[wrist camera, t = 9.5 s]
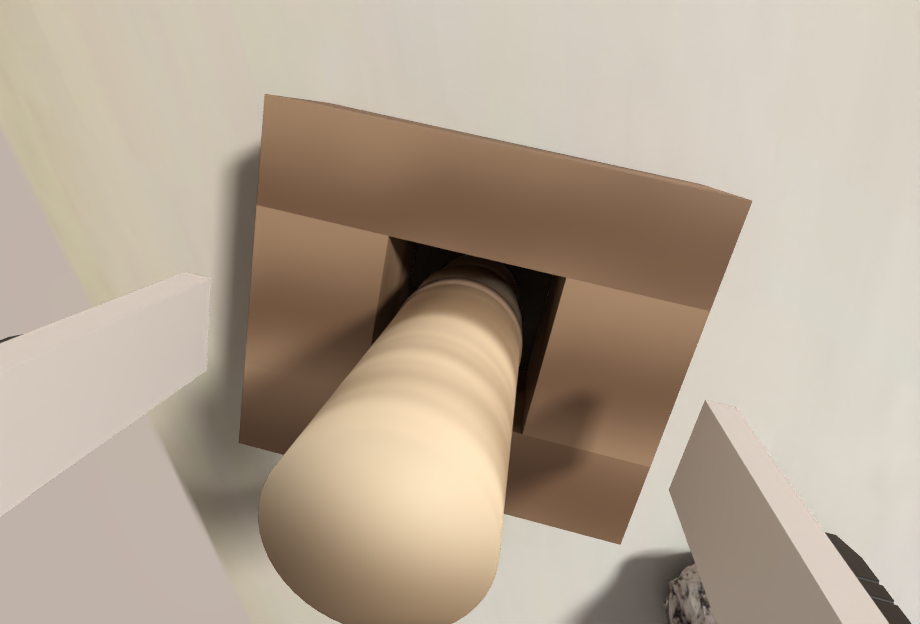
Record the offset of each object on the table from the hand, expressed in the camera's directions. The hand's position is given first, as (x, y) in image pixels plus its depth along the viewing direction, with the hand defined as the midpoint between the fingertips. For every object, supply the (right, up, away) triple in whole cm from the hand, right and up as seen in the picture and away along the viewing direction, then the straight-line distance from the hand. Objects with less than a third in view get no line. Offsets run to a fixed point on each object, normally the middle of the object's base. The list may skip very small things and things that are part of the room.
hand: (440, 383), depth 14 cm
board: (+1, +3, +8) cm, 8 cm away
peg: (+1, +3, +8) cm, 8 cm away
